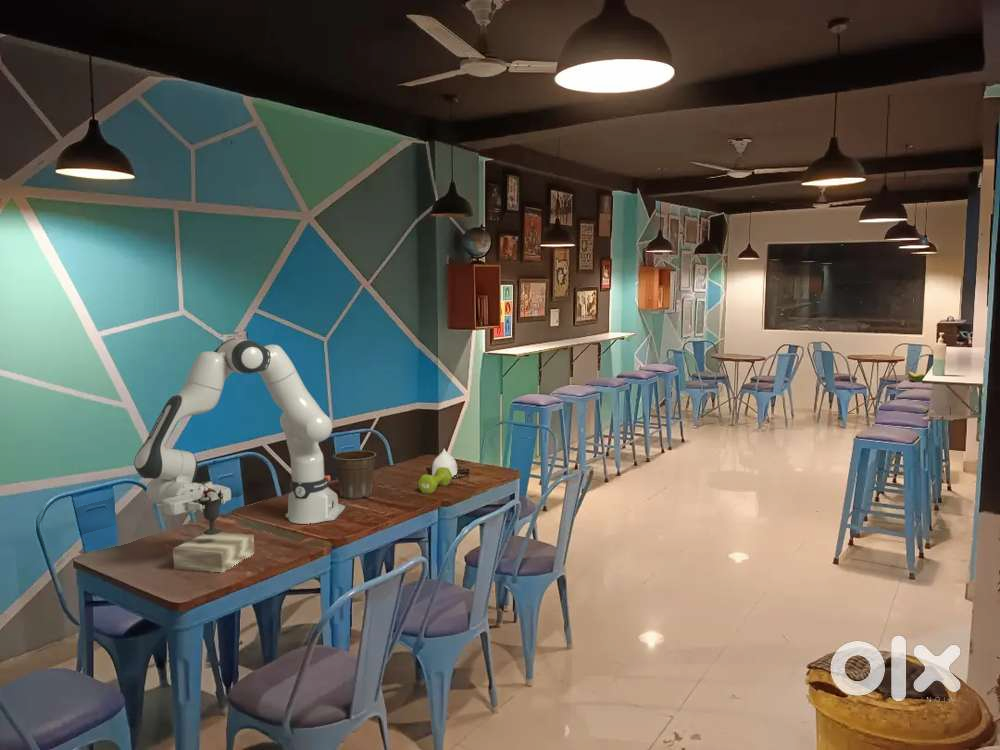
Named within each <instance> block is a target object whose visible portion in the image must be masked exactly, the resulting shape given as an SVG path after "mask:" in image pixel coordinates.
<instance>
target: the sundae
mask: <svg viewBox="0 0 1000 750" xmlns="http://www.w3.org/2000/svg"><path fill="white" fill-rule="evenodd" d="M202 485H203V486H204V485H205V484H202ZM205 486H206V485H205ZM205 486H204V487H205ZM206 487H207V486H206ZM207 488H208V487H207ZM221 499H223V497H221V490H220V492H219V493H218V494H217V492H216V491H215V490H213V489H211V488H208V490H205V489H204V491H203V495H202V496H201V498H200V499H199V500H198V501H199V502H200V503H204V504H205V509H204V510H202V513H203V517H204V518H205V519H206V521H208V522H209V528H208V529H207V530H204V532H203V533H204V534H206V535H213V534H218V533H220V532H222V529H220V528H216V527H215V520H216V519H217V518H218V517H219V516H220V511H221V510H220V509H221V508H220V507H221V505H220V501H221Z"/></svg>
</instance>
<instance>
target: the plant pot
mask: <svg viewBox="0 0 1000 750" xmlns="http://www.w3.org/2000/svg"><path fill="white" fill-rule="evenodd" d="M376 456H377V453H376V452H374V451H370V450H347V451H342V452H337V453H335V454H333V458H334V462H335V463H334V464H335V468H336V472H337V473H336V474H337V480H338V489H339V497H340V498H343V499H346V500H347V499H349V500H356V499H363V497H364V498H368V497H370V496H371V495H372V493H373V491H372V490H373V477H374V466H375V462H376Z"/></svg>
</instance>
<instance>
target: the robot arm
mask: <svg viewBox="0 0 1000 750" xmlns="http://www.w3.org/2000/svg"><path fill="white" fill-rule="evenodd" d="M232 373H238V374H249V375H250V374H255V373H258V374H259V375H260V377H261V378H262V381H263V383H264V384H265V386H266V388H267V390H268V392H269V394H270V395H271V398H272V399H273V401H274V403H275V404H276V406H278V407H279V409H281V411H282V413H281V415H280V418H279V424H280V427H281V430H282V431H283V434H284V437H285V440H286V446H287V448H288V452H289V457H290V468H291V469H290V470H291V471H290V472H291V479H290V491H291V492H290V493H289V494H288V504H287V505H288V506H287V509H288V510H287V513H285V518H287V519H288V521H289V522H290V523H293V524H300V525H307V524H308V525H310V523H311V524H317V523H321V522H328V521H330V522H331V521H335V520H336V519H337V518H338V516H340V515H341V513H342V512H343V511H344V510H345V509H346V505H343V504H340V503H339V498H338V494H337V492H335V491H334V490H332V489H331V488H330V487H329V484H328V482H331V475H325V458H324V454H323V451H322V450H321V447H320V445H319V442H323V441H326V440H327V439H328V438H329V437H330V436H331V433H332V431H333V423H332V420H331V418H330V417H329V416H328V415H327V414H326V413H325V412H324V411H323V410H322V408H321V407H320V406H319V404H318V403H317V401H316V400H315V398H313V396H312V395H311V393H310V392H309V391H308V389H307V388H306V386H305V384H304V383H303V380H302V378H301V377H300V375H299V373H298V370H297V369H296V367H295V365H294V363H293V362H292V360H291V359H290V357H289V355H287V353H286V352H285V350H284V349H283V348H282V347H281V346H280V345H279V344H267V345H265V346H263V345H262V344H260V343H258V342H256V341H254V340H251V339H246V338H230V339H227V340H226V341H223V342H222V343H221V344H220V345H219V346H218V347H217V348H216V349H215V350H213V351H211V350H210V351H209V350H207V351H202V352H200V353H199V354H198V355H197V356H196V358H195V360H194V362H193V363H192V365H191V368H190V370H189V372H188V375H187V378H186V381H185V383H184V385H183V387H182V388H181V390H180V391H179V392H178V393H177V394H175V395H173V396H171V397H170V398H169V399H168V400H167V401H166V403H165V405H164V407H163V408H162V410H161V411H160V413H159V416H158V418H157V419H156V421H155V422H154V425H153V427H152V429H151V430H150V433H149V435H148V436H147V438H146V440H145V441H144V444H142V446H141V447H140V448H139V450H138V451H137V453H136V455H135V458H134V460H133V461H134V464H133V465H134V468H135V471H136V472H137V474H139V476H140V477H141V478H143V479H151V480H150V481H149V482H148V484H147V486H146V495H147V497H148V499H149V501H151V502H152V503H154V504H156V505H155V506H156V508H157V509H161V510H162V513H164V514H167V515H169V516H177V515H181V514H188V513H191V512H194V511H203V510H204V509H205V504H204V503H200V502H199V501H198V500H199V499H200V498H201V496H202V495H203V491H204V489H205V490H208V488H211V489H213V490H215V491H216V492H217V494H218V493H219V492H220V490H221V497H223V499H221V501H220V506H222V505H225V504H226V503H227V502H229V501H231V500H232V490H231V488H230V487H228V486H224V485H220V484H213V482H212V481H202V482H201V481H200V482H195V480H196V478H197V474H198V470H199V464H198V460H197V457H196V456H195V455H194V454H193V452H191V451H185V450H183V449H174V448H169V447H165V446H166V444H167V441H168V439H169V438H170V436H171V434H172V432H173V430H174V428H175V426H176V425H177V423H178V422H179V421H181V420H183V419H184V418H187V417H189V416H196V415H202V414H205V413H208V412H210V411H211V410H213V409H215V407H216V406H217V404H218V403H219V400H220V397H221V395H222V392H223V390H224V389H223V388H224V385H225V382H226V380H227V378H228V377H229V375H231V374H232ZM202 484H205V485H206V486H207V487H208V488H207V487H206V486H205V485H204V486H205V487H204V486H203V485H202Z"/></svg>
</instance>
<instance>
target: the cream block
mask: <svg viewBox="0 0 1000 750" xmlns="http://www.w3.org/2000/svg"><path fill="white" fill-rule="evenodd" d="M254 537H255V535H254V534H249V533H248V534H247V533H238V532H237V533H233V532H223V531H221V532H220V533H218V534H213V535H206V534H204V532H203V533H202V534H199V535H197V536H196V537H194V538H191V539H190V540H188V541H186V542H184V543H182V544H179V545H178V546H175V547H174V548H172V556H173V557H172V558H173V569H174V570H181V569H183V570H185V571H192V570H193V571H194V572H203V571H206V572H205V573H214V572H220V573H219V574H224V573H225V571H226V570H227V571H229V570H230V569H232V568H234V567H235V566H237V565H238V563H239V562H240V563H242V562H244V561H245V560H247V559H249V558H251V557H252V556H253V554H254V553H255V540H254ZM251 555H252V556H251ZM254 555H255V554H254ZM248 557H249V558H248ZM246 558H247V559H246ZM244 559H245V560H244ZM243 560H244V561H243ZM241 561H242V562H241ZM240 563H239V564H240ZM236 564H237V565H236ZM234 565H235V566H234ZM233 566H234V567H233ZM231 567H232V568H231ZM228 569H229V570H228ZM183 570H182V571H183ZM207 571H209V572H207ZM227 571H226V572H227ZM223 572H224V573H223Z"/></svg>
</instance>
